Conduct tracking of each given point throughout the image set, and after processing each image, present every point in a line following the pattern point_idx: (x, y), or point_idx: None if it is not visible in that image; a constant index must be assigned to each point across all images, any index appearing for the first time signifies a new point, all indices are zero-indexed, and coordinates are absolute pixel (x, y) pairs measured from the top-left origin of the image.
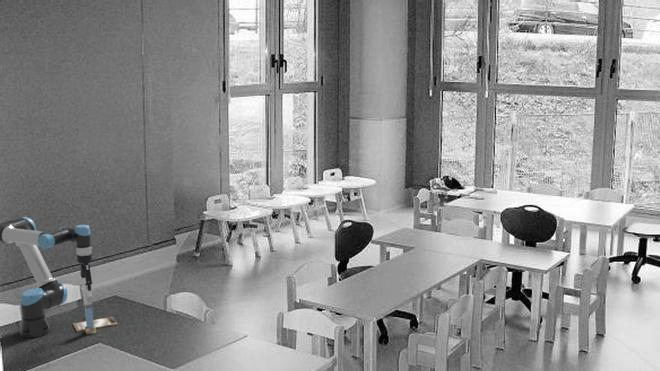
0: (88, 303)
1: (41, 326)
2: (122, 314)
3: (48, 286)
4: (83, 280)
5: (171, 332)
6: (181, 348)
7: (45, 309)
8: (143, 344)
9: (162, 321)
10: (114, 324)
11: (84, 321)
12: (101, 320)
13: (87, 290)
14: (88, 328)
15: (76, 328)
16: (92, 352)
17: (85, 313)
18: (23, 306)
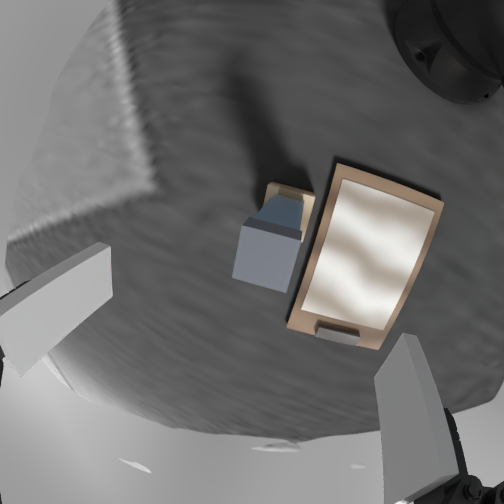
0: (272, 266)
1: (416, 31)
2: None
3: None
4: (416, 452)
5: (131, 365)
6: None
7: (492, 60)
8: None
9: (220, 403)
10: (290, 316)
11: (425, 250)
12: (376, 304)
13: (48, 281)
14: (269, 196)
15: (372, 178)
16: (94, 136)
17: (297, 218)
18: None
